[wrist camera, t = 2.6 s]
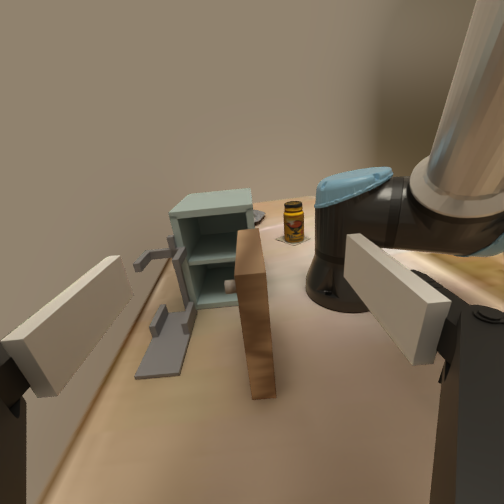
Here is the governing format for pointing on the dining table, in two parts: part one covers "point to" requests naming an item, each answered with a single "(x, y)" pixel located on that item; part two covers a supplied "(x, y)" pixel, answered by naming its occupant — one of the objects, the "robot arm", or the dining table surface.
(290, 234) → the condiment
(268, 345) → the door
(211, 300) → the cabinet
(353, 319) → the dining table surface
